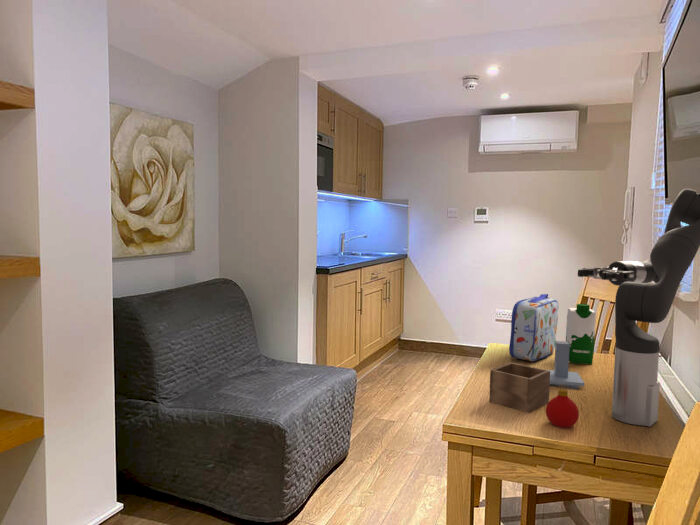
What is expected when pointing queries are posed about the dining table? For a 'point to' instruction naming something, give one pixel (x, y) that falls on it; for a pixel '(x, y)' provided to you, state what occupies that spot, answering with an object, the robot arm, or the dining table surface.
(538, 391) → the block
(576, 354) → the milk carton
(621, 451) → the dining table surface
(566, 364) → the lid
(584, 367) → the dining table surface
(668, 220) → the robot arm
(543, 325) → the lunch box
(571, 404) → the christmas ornament
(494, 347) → the dining table surface
